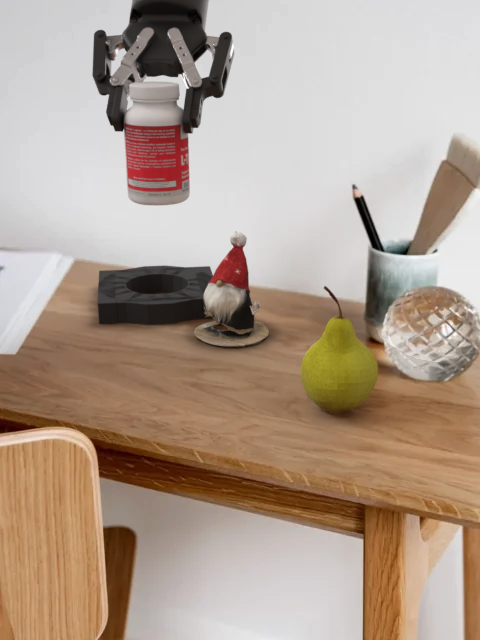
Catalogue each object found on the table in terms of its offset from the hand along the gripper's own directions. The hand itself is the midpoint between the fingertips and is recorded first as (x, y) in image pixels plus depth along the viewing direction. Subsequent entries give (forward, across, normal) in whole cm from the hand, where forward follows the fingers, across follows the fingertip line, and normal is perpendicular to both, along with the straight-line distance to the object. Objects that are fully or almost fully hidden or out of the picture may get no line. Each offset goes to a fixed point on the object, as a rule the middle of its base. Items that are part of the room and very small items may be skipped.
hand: (152, 127), depth 79 cm
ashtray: (+6, -4, +27) cm, 28 cm away
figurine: (+12, +7, +21) cm, 25 cm away
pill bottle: (+4, 0, +6) cm, 8 cm away
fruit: (+24, +19, +9) cm, 32 cm away
